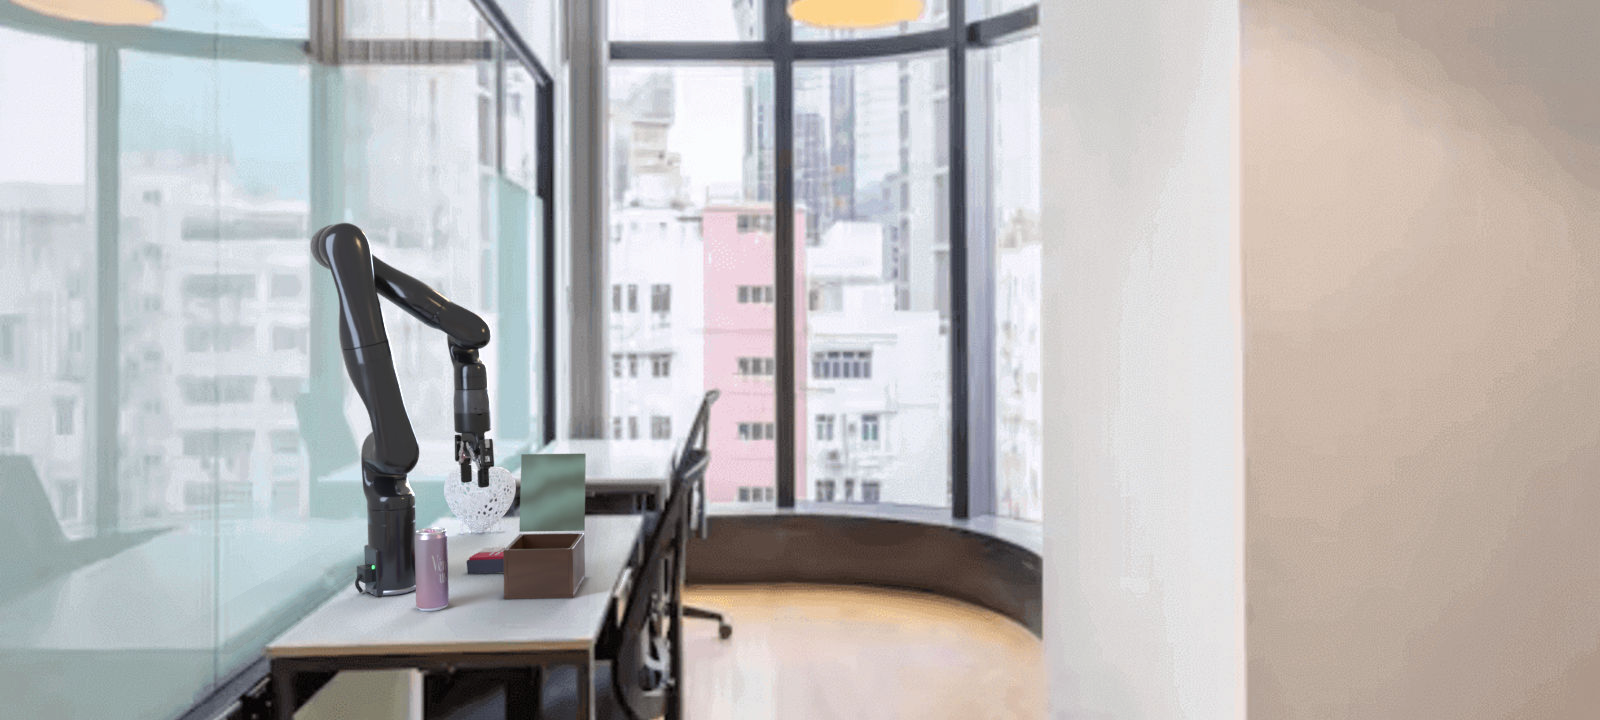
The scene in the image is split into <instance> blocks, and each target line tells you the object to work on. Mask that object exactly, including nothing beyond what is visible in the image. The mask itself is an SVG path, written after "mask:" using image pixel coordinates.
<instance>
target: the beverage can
mask: <svg viewBox="0 0 1600 720" xmlns="http://www.w3.org/2000/svg"><path fill="white" fill-rule="evenodd" d="M415 533H416V535H415V579H416V590H415V607H416V608H417V610H419V611H422V612H436V611H440V610H444V609H446V608H447V607H448V604H449V603H450V598H449V597H450V596H449V591H450V590H449V556H448V555H449V551H448V550H449V547H448V545H449V544H448V533H447V529H446V528H443V527H425V528H420V529H416V532H415Z"/></svg>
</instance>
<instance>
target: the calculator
mask: <svg viewBox="0 0 1600 720" xmlns="http://www.w3.org/2000/svg"><path fill="white" fill-rule="evenodd" d="M505 548H506V546H493V547H491V546H490V547H483V548H482V549H481V550H479V551H477V552H476V553H474V554H472V555H471V556H469V557H468V559H467V560H466V573H467V575H479V574H480V575H481V574H499V573H503V574H504V560H503V550H504V549H505Z"/></svg>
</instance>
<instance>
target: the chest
mask: <svg viewBox="0 0 1600 720" xmlns="http://www.w3.org/2000/svg"><path fill="white" fill-rule="evenodd" d="M585 546H586V545H585V532H555V533H554V532H550V533H519V534H518V535H517V536H516V537H515V538H514V539H513V540H512V541H511V542H510V543H509V544H508V545H507V546H505V549H504V550H503V560H504V573H503V599H504V600H531V599H533V600H534V599H535V600H536V599H573V598H574V597H575V596H576V594H577V592H578V591H579V589H580V588H581V586H582V584H583V582H584V581H585V579H586V551H585V550H586V549H585Z"/></svg>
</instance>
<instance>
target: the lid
mask: <svg viewBox="0 0 1600 720" xmlns="http://www.w3.org/2000/svg"><path fill="white" fill-rule="evenodd" d="M520 455H521V457H520V490H519V491H520V492H519V493H520V494H519V495H520V496H519V530H518V531H519V532H520V533H526V532H527V533H528V532H530V533H532V532H534V533H535V532H576V531H577V532H585V530H586V529H585V528H586V474H587V473H586V471H587V469H586V467H587V466H586V461H587V454H586V453H583V452H582V453H524V454H523V453H522V454H520Z"/></svg>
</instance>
